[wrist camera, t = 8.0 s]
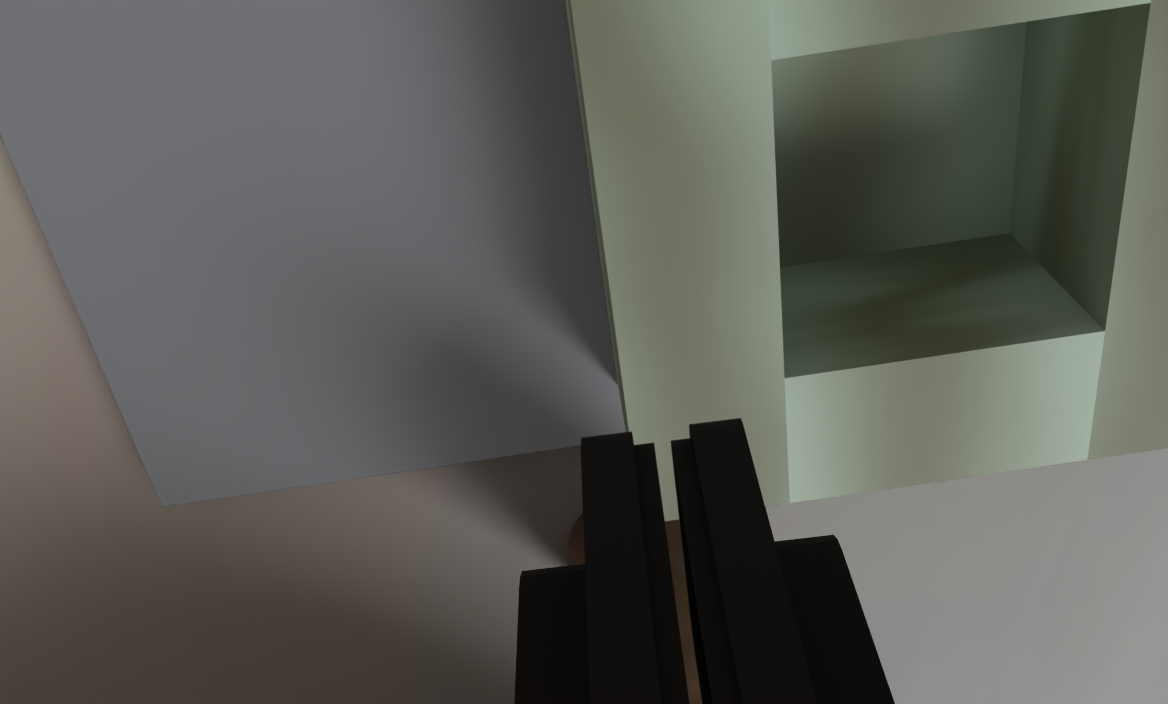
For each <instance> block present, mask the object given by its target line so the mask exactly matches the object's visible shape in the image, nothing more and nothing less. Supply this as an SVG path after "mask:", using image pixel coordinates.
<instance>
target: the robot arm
mask: <svg viewBox="0 0 1168 704" xmlns="http://www.w3.org/2000/svg"><path fill="white" fill-rule="evenodd" d="M689 434H690V438H687V439H679V440H671V451H672V460H673V469H674V478H675V487H676V495H677V504H678V513H679V522H680V531H681V540H682V549H683V558H684V567H685V575H686V584H687V593H688V602H689V611H690V620H691V629H692V637H693V644H694V652H695V659H696V666H697V672H698V679H699V686H700V693H701V699H702V704H895V703H894V700H893V697H892V694H891V691H890V688H889V686H888V683H887V680H886V677H885V674H884V671H883V668H882V665H881V662H880V659H879V656H878V654H877V651H876V648H875V645H874V642H873V639H872V636H871V633H870V630H869V627H868V624H867V621H866V619H865V616H864V613H863V610H862V607H861V604H860V601H859V598H858V595H857V592H856V589H855V587H854V584H853V581H852V578H851V575H850V572H849V569H848V566H847V563H846V560H845V557H844V555H843V552H842V549H841V547H840V544H839V542H838V540H837V538H836V537H835V536H834V535H828V536H819V537H811V538H802V539H794V540H785V541H776V542H774V538H773V535H772V531H771V527H770V523H769V519H768V516H767V512H766V508H765V504H764V501H763V497H762V493H761V489H760V486H759V482H758V478H757V474H756V470H755V467H754V463H753V459H752V455H751V452H750V448H749V444H748V440H747V437H746V433H745V429H744V425H743V422H742V419H741V418H736V419H728V420H720V421H712V422H704V423H696V424H689ZM581 465H582V493H583V522H584V550H585V564H580V565H571V566H562V567H554V568H545V569H537V570H528V571H522V573H521V576H520V586H519V607H518V632H517V656H516V680H515V704H690V703H689V696H688V688H687V681H686V674H685V666H684V659H683V652H682V644H681V637H680V630H679V622H678V615H677V608H676V600H675V593H674V586H673V578H672V571H671V564H670V556H669V549H668V542H667V534H666V527H665V519H664V512H663V505H662V497H661V490H660V483H659V475H658V468H657V461H656V453H655V446H654V443H646V444H638V445H634V441H633V434H632V431H630V432H622V433H614V434H606V435H598V436H590V437H581Z"/></svg>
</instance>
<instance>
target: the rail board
mask: <svg viewBox="0 0 1168 704" xmlns="http://www.w3.org/2000/svg"><path fill="white" fill-rule="evenodd" d="M0 135H1V137H2V140H3V142H4V144H5V146H6V149H7V151H8V153H9V156H10V158H11V160H12V163H13V165H14V167H15V169H16V172H17V174H18V176H19V179H20V181H21V183H22V186H23V188H24V190H25V193H26V195H27V197H28V199H29V202H30V204H31V206H32V209H33V211H34V213H35V216H36V218H37V220H38V223H39V225H40V227H41V229H42V232H43V234H44V236H45V239H46V241H47V243H48V246H49V248H50V250H51V253H52V255H53V257H54V259H55V262H56V264H57V266H58V269H59V271H60V273H61V276H62V278H63V280H64V283H65V285H66V287H67V289H68V292H69V294H70V296H71V299H72V301H73V303H74V306H75V308H76V310H77V313H78V315H79V317H80V319H81V322H82V324H83V326H84V329H85V331H86V333H87V336H88V338H89V340H90V342H91V345H92V347H93V349H94V352H95V354H96V356H97V359H98V361H99V363H100V366H101V368H102V370H103V372H104V375H105V377H106V379H107V382H108V384H109V386H110V389H111V391H112V393H113V396H114V398H115V400H116V402H117V405H118V407H119V409H120V412H121V414H122V416H123V419H124V421H125V423H126V426H127V428H128V430H129V432H130V435H131V437H132V439H133V442H134V444H135V446H136V449H137V451H138V453H139V456H140V458H141V460H142V462H143V465H144V467H145V469H146V472H147V474H148V476H149V479H150V481H151V483H152V486H153V488H154V490H155V492H156V495H157V497H158V499H159V502H160V504H161V506H162V507H166V506H173V505H180V504H187V503H194V502H200V501H207V500H214V499H221V498H228V497H234V496H241V495H248V494H255V493H262V492H268V491H275V490H282V489H289V488H296V487H302V486H309V485H316V484H323V483H329V482H336V481H343V480H350V479H357V478H363V477H370V476H377V475H384V474H391V473H397V472H404V471H411V470H418V469H425V468H431V467H438V466H445V465H452V464H459V463H465V462H472V461H479V460H486V459H493V458H499V457H506V456H513V455H520V454H527V453H533V452H540V451H547V450H554V449H561V448H567V447H574V446H581V437H590V436H598V435H606V434H614V433H622V432H626V430H625V424H624V418H623V413H622V407H621V401H620V395H619V389H618V383H617V376H616V369H615V362H614V355H613V347H612V340H611V333H610V326H609V319H608V311H607V304H606V297H605V290H604V283H603V275H602V268H601V261H600V254H599V247H598V239H597V232H596V225H595V218H594V211H593V203H592V196H591V189H590V182H589V175H588V167H587V160H586V153H585V146H584V139H583V131H582V124H581V117H580V110H579V103H578V95H577V88H576V81H575V74H574V67H573V59H572V52H571V45H570V38H569V31H568V23H567V16H566V9H565V2H564V0H0Z"/></svg>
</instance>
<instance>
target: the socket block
mask: <svg viewBox="0 0 1168 704" xmlns="http://www.w3.org/2000/svg"><path fill="white" fill-rule="evenodd" d="M564 2H565V9H566V16H567V23H568V31H569V38H570V45H571V52H572V59H573V67H574V74H575V81H576V88H577V95H578V103H579V110H580V117H581V124H582V131H583V139H584V146H585V153H586V160H587V167H588V175H589V182H590V189H591V196H592V203H593V211H594V218H595V225H596V232H597V239H598V247H599V254H600V261H601V268H602V275H603V283H604V290H605V297H606V304H607V311H608V319H609V326H610V333H611V340H612V347H613V355H614V362H615V369H616V376H617V383H618V389H619V395H620V401H621V407H622V413H623V418H624V424H625V430H626V432H630V431H632V434H633V441H634V445H638V444H646V443H654V446H655V453H656V461H657V468H658V475H659V483H660V490H661V497H662V505H663V512H664V519H665V521H671V520H678V519H679V513H678V504H677V495H676V487H675V478H674V469H673V460H672V451H671V440H679V439H687V438H690V434H689V424H696V423H704V422H712V421H720V420H728V419H736V418H741V419H742V422H743V425H744V429H745V433H746V437H747V440H748V444H749V448H750V452H751V455H752V459H753V463H754V467H755V470H756V474H757V478H758V482H759V486H760V489H761V493H762V497H763V501H764V504H765V507H767V506H774V505H780V504H787V503H794V502H801V501H808V500H815V499H822V498H828V497H835V496H842V495H849V494H856V493H863V492H869V491H876V490H883V489H890V488H897V487H904V486H910V485H917V484H924V483H931V482H938V481H945V480H952V479H958V478H965V477H972V476H979V475H986V474H993V473H999V472H1006V471H1013V470H1020V469H1027V468H1034V467H1040V466H1047V465H1054V464H1061V463H1068V462H1075V461H1082V460H1088V459H1095V458H1102V457H1109V456H1116V455H1123V454H1129V453H1136V452H1143V451H1150V450H1157V449H1164V448H1168V0H564Z"/></svg>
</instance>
